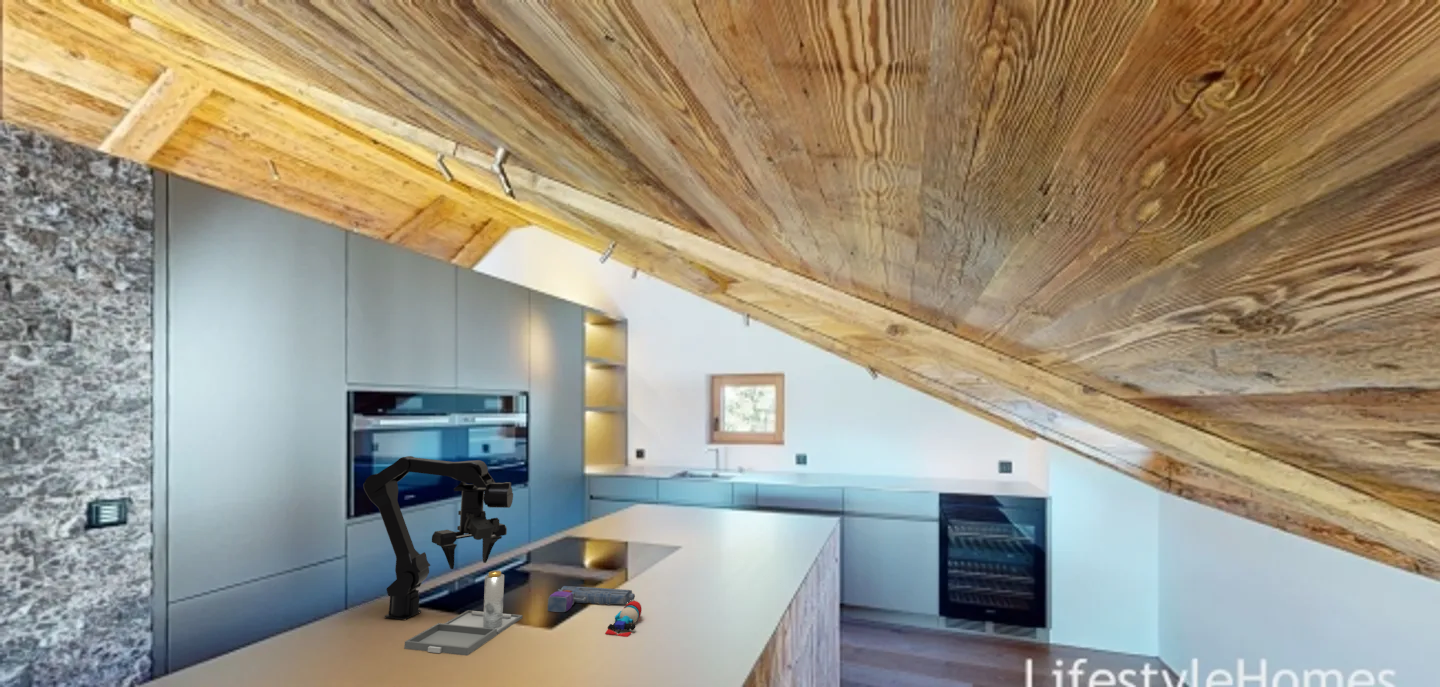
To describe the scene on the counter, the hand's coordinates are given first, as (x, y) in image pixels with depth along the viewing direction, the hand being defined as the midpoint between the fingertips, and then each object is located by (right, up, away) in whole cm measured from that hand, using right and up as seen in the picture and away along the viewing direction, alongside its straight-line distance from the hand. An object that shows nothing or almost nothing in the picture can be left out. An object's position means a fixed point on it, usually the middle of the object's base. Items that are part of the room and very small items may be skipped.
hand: (468, 565), depth 162 cm
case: (+5, -11, -22) cm, 25 cm away
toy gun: (+31, -15, +9) cm, 36 cm away
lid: (+7, -12, -9) cm, 17 cm away
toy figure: (+44, -14, -6) cm, 47 cm away
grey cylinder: (+11, -11, -11) cm, 19 cm away
